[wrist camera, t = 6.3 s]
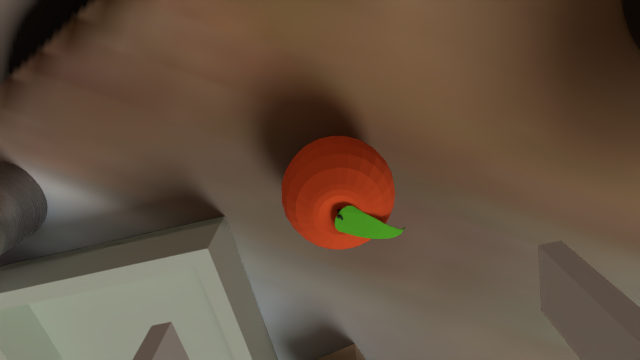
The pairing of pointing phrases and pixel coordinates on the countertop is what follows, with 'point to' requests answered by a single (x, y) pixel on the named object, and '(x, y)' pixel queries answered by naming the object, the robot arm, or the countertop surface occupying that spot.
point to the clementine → (339, 193)
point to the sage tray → (134, 299)
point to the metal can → (19, 205)
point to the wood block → (345, 354)
